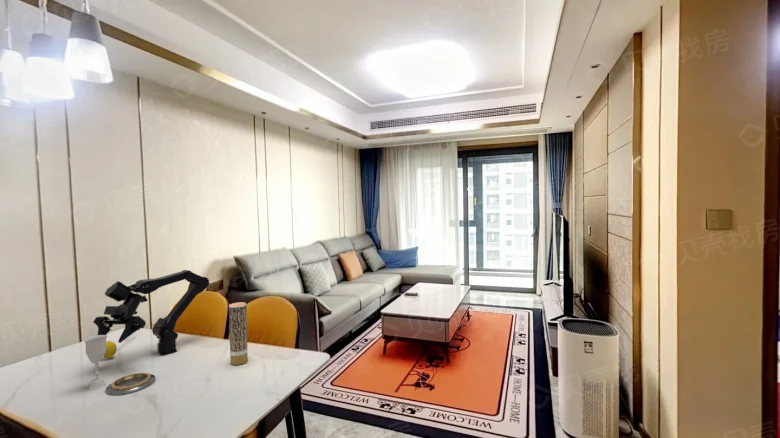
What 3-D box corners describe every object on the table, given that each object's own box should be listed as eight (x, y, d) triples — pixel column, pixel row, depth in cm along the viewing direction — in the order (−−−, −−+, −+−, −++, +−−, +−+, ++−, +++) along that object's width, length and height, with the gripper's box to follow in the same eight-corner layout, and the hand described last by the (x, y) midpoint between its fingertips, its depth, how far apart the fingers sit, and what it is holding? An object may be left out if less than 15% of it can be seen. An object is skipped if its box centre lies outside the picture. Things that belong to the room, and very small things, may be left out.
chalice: (81, 387, 130) (79, 339, 130) (103, 379, 136) (101, 333, 136) (90, 392, 126) (89, 342, 126) (112, 383, 132) (111, 336, 132)
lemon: (110, 361, 154) (109, 343, 154) (97, 361, 154) (97, 343, 154) (120, 356, 159) (119, 338, 159) (108, 356, 159) (107, 338, 159)
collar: (150, 372, 142) (150, 367, 142) (159, 384, 131) (159, 379, 131) (102, 385, 131) (102, 380, 131) (109, 400, 121) (108, 394, 121)
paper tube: (250, 359, 153) (249, 302, 153) (242, 366, 146) (241, 306, 146) (235, 358, 154) (234, 302, 153) (227, 365, 147) (225, 306, 147)
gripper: (95, 297, 144) (71, 333, 134) (138, 296, 143) (117, 333, 132) (113, 310, 152) (91, 345, 142) (154, 310, 151) (135, 345, 140)
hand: (108, 342), depth 139 cm, fingers open, 9 cm apart
